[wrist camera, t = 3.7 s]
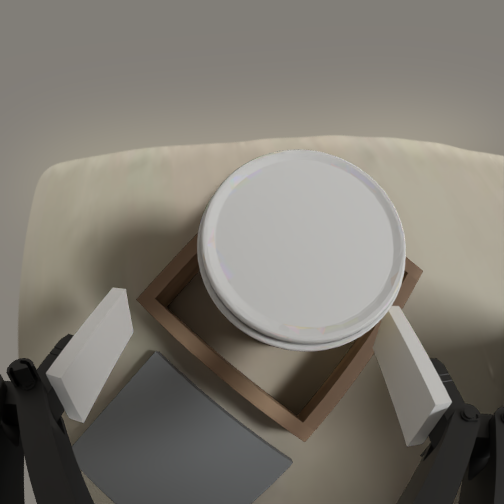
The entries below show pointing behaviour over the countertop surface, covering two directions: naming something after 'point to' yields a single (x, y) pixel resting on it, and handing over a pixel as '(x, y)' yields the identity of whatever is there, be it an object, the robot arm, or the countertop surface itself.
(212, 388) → the countertop surface
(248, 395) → the cup holder
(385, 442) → the countertop surface
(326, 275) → the coffee cup
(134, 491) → the rubber mat
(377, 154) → the countertop surface
